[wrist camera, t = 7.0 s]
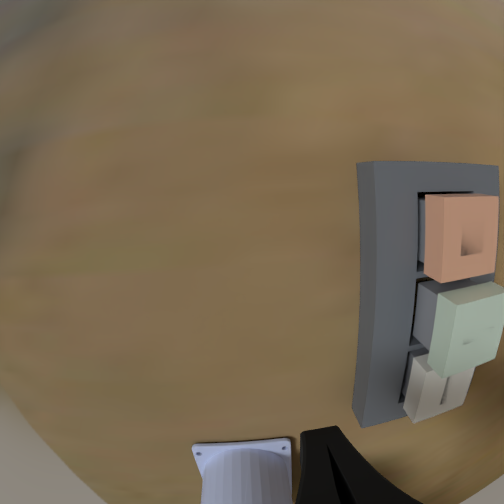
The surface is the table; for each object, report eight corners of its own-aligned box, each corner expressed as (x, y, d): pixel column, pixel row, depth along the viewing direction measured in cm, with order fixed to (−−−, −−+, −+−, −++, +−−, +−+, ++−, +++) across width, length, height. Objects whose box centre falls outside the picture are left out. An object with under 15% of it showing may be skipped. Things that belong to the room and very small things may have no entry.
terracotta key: (452, 254, 18) (494, 272, 14) (401, 260, 18) (440, 283, 14) (453, 190, 17) (498, 196, 13) (400, 191, 17) (443, 197, 13)
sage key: (456, 327, 18) (494, 358, 13) (406, 341, 18) (441, 378, 13) (465, 268, 17) (510, 290, 12) (413, 277, 17) (456, 305, 12)
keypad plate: (453, 378, 21) (467, 393, 19) (351, 407, 21) (361, 428, 19) (475, 165, 17) (498, 165, 15) (356, 163, 17) (373, 161, 15)
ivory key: (434, 373, 21) (462, 404, 16) (388, 386, 21) (413, 423, 16) (444, 326, 20) (478, 354, 15) (395, 337, 20) (426, 372, 15)
